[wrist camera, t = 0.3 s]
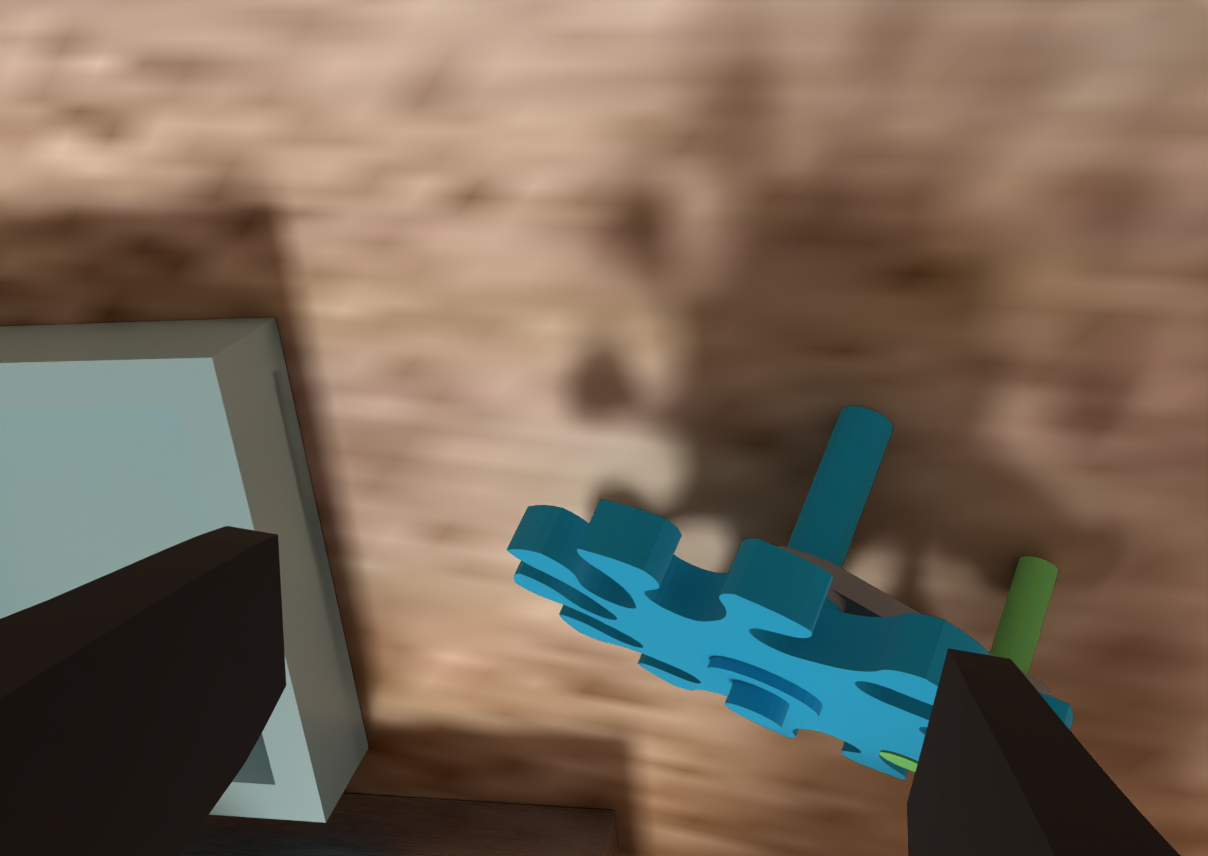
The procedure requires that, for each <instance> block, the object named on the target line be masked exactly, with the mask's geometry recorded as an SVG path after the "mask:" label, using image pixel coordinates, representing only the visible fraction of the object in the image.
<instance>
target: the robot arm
mask: <svg viewBox="0 0 1208 856" xmlns="http://www.w3.org/2000/svg"><path fill="white" fill-rule="evenodd" d="M285 687H286V671H285V653H284V634H283V616H282V597H281V579H280V560H279V542H278V534H272V533H266V532H260V531H254V530H248V529H243V528H237V527H231V526H225V527H222V528H219V529H216V530H213V531H210V532H207V533H204V534H201V535H199V536H196V537H194V538H191V539H189V540H186V541H184V542H181V543H179V544H177V545H174V546H172V547H169V548H167V549H165V550H162V551H160V552H158V553H155V554H153V555H151V556H148V557H146V558H144V559H142V560H139V561H137V562H135V563H132V564H130V565H128V566H126V567H123V568H121V569H119V570H116V571H114V572H112V573H109V574H107V575H105V576H102V577H100V578H98V579H95V580H93V581H91V582H88V583H86V584H84V585H82V586H79V587H77V588H75V589H72V590H70V591H68V592H65V593H63V594H61V595H58V596H56V597H54V598H51V599H49V600H47V601H44V602H42V603H39V604H37V605H34V606H32V607H29V608H26V609H24V610H21V611H19V612H16V613H14V614H11V615H9V616H6V617H4V618H1V619H0V856H179V855H180V854H181V852H182V851H183V849H184V848H185V847H186V845H187V844H188V843H189V841H190V840H191V838H192V837H193V836H194V834H195V833H196V832H197V830H198V829H199V827H200V826H201V825H202V823H203V822H204V820H205V819H206V818H207V816H208V815H209V813H210V812H211V811H212V809H213V808H214V806H215V805H216V804H217V802H218V801H219V799H220V798H221V797H222V795H223V794H224V792H225V791H226V790H227V788H228V787H229V785H230V784H231V783H232V781H233V780H234V778H235V777H236V775H237V774H238V773H239V771H240V770H241V768H242V767H243V765H244V764H245V762H246V760H247V759H248V757H249V755H250V753H251V751H252V750H253V748H254V746H255V744H256V742H257V741H258V739H259V737H260V735H261V733H262V732H263V730H264V728H265V726H266V724H267V722H268V720H269V718H270V716H271V714H272V712H273V711H274V709H275V707H276V705H277V703H278V701H279V699H280V697H281V695H282V693H283V691H284V689H285ZM907 816H908V854H909V856H1180V855H1179V854H1178V853H1177V852H1176V851H1175V850H1174V848H1173V847H1172V846H1171V845H1170V844H1169V843H1168V842H1167V841H1166V840H1165V839H1164V838H1163V837H1162V836H1161V835H1160V834H1159V832H1158V831H1157V830H1156V829H1155V828H1154V827H1153V826H1152V825H1151V824H1150V823H1149V822H1148V820H1147V819H1146V818H1145V817H1144V816H1143V815H1142V814H1141V813H1140V812H1139V811H1138V809H1137V808H1136V807H1135V806H1134V805H1133V804H1132V803H1131V802H1130V800H1129V799H1128V798H1127V797H1126V796H1125V795H1124V794H1123V793H1122V791H1121V790H1120V789H1119V788H1118V787H1117V786H1116V784H1115V783H1114V782H1113V781H1112V780H1111V779H1110V778H1109V776H1108V775H1107V774H1106V773H1105V772H1104V771H1103V769H1102V768H1101V767H1100V766H1099V765H1098V763H1097V762H1096V761H1095V760H1094V759H1093V758H1092V756H1091V755H1090V754H1089V753H1088V752H1087V750H1086V749H1085V748H1084V747H1083V746H1082V744H1081V743H1080V742H1079V741H1078V740H1077V738H1076V737H1075V736H1074V735H1073V734H1072V732H1071V731H1070V730H1069V729H1068V728H1067V726H1066V725H1065V724H1064V723H1063V721H1062V720H1061V719H1060V718H1059V717H1058V715H1057V714H1056V713H1055V712H1054V710H1053V709H1052V708H1051V707H1050V706H1049V704H1048V703H1047V702H1046V701H1045V699H1044V698H1043V697H1042V696H1041V694H1040V693H1039V692H1038V691H1037V690H1036V688H1035V687H1034V686H1033V685H1032V683H1031V682H1030V681H1029V680H1028V679H1027V677H1026V676H1025V675H1024V674H1023V673H1022V671H1021V670H1020V669H1019V668H1018V667H1017V666H1016V664H1015V663H1014V662H1013V661H1012V660H1011V659H1009V658H1003V657H997V656H991V655H985V654H979V653H974V652H968V651H962V650H956V649H950V648H948V650H947V654H946V658H945V661H944V665H943V669H942V673H941V677H940V680H939V684H938V688H937V692H936V696H935V699H934V703H933V707H932V711H931V715H930V718H929V722H928V726H927V730H926V734H925V737H924V741H923V745H922V749H921V753H920V756H919V760H918V764H917V768H916V772H915V776H914V779H913V783H912V787H911V791H910V795H909V798H908V802H907Z"/></svg>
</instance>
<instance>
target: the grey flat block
mask: <svg viewBox="0 0 1208 856" xmlns="http://www.w3.org/2000/svg"><path fill="white" fill-rule="evenodd" d="M179 856H619V854H618V844H617V835H616V826H615V816H614V811H613V810H598V809H582V808H566V807H551V806H535V805H519V804H504V803H488V802H473V801H457V800H441V799H426V798H410V797H395V796H379V795H363V794H348V793H343V794H342V795H341V797H340V799H339V801H338V802H337V804H336V806H335V808H334V809H333V811H332V813H331V815H330V816H329V818H328V820H327V822H326V823H323V822H309V821H295V820H281V819H266V818H252V817H238V816H224V815H210V814H209V815H208V816H207V818H206V819H205V820H204V822H203V823H202V825H201V826H200V827H199V829H198V830H197V832H196V833H195V834H194V836H193V837H192V838H191V840H190V841H189V843H188V844H187V845H186V847H185V848H184V849H183V851H182V852H181V854H180V855H179Z"/></svg>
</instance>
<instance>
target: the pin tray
mask: <svg viewBox="0 0 1208 856" xmlns="http://www.w3.org/2000/svg"><path fill="white" fill-rule="evenodd" d="M225 526H231V527H237V528H243V529H248V530H254V531H260V532H266V533H272V534H278V542H279V560H280V579H281V597H282V616H283V634H284V653H285V671H286V687H285V689H284V691H283V693H282V695H281V697H280V699H279V701H278V703H277V705H276V707H275V709H274V711H273V712H272V714H271V716H270V718H269V720H268V722H267V724H266V726H265V728H264V730H263V732H262V733H261V735H260V737H259V739H258V741H257V742H256V744H255V746H254V748H253V750H252V751H251V753H250V755H249V757H248V759H247V760H246V762H245V764H244V765H243V767H242V768H241V770H240V771H239V773H238V774H237V775H236V777H235V778H234V780H233V781H232V783H231V784H230V785H229V787H228V788H227V790H226V791H225V792H224V794H223V795H222V797H221V798H220V799H219V801H218V802H217V804H216V805H215V806H214V808H213V809H212V811H211V812H210V813H209V814H210V815H224V816H238V817H252V818H266V819H281V820H295V821H309V822H323V823H326V822H327V820H328V818H329V816H330V815H331V813H332V811H333V809H334V808H335V806H336V804H337V802H338V801H339V799H340V797H341V795H342V794H343V792H344V790H345V788H346V787H347V785H348V783H349V781H350V779H351V778H352V776H353V774H354V772H355V771H356V769H357V767H358V765H359V764H360V762H361V760H362V758H363V757H364V755H365V753H366V751H367V750H368V748H369V747H368V742H367V738H366V733H365V728H364V724H363V719H362V715H361V710H360V705H359V701H358V696H357V692H356V687H355V682H354V678H353V673H352V668H351V664H350V659H349V655H348V650H347V645H346V641H345V636H344V632H343V627H342V622H341V618H340V613H339V608H338V604H337V599H336V595H335V590H334V585H333V581H332V576H331V572H330V567H329V562H328V558H327V553H326V548H325V544H324V539H323V535H322V530H321V525H320V521H319V516H318V512H317V507H316V502H315V498H314V493H313V488H312V484H311V479H310V475H309V470H308V465H307V461H306V456H305V452H304V447H303V442H302V438H301V433H300V428H299V424H298V419H297V415H296V410H295V405H294V401H293V396H292V392H291V387H290V382H289V378H288V373H287V368H286V364H285V359H284V355H283V350H282V345H281V341H280V336H279V332H278V327H277V322H276V318H275V317H261V318H232V319H202V320H173V321H143V322H114V323H84V324H54V325H25V326H0V619H1V618H4V617H6V616H9V615H11V614H14V613H16V612H19V611H21V610H24V609H26V608H29V607H32V606H34V605H37V604H39V603H42V602H44V601H47V600H49V599H51V598H54V597H56V596H58V595H61V594H63V593H65V592H68V591H70V590H72V589H75V588H77V587H79V586H82V585H84V584H86V583H88V582H91V581H93V580H95V579H98V578H100V577H102V576H105V575H107V574H109V573H112V572H114V571H116V570H119V569H121V568H123V567H126V566H128V565H130V564H132V563H135V562H137V561H139V560H142V559H144V558H146V557H148V556H151V555H153V554H155V553H158V552H160V551H162V550H165V549H167V548H169V547H172V546H174V545H177V544H179V543H181V542H184V541H186V540H189V539H191V538H194V537H196V536H199V535H201V534H204V533H207V532H210V531H213V530H216V529H219V528H222V527H225Z"/></svg>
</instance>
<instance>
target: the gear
mask: <svg viewBox="0 0 1208 856" xmlns="http://www.w3.org/2000/svg"><path fill="white" fill-rule="evenodd" d="M892 431H893V425H892V423H891V422H890V421H889V420H888V419H887V418H886V417H885V416H883V415H882V414H880V413H878V412H876V411H873V410H871V409H868V408H864V407H859V406H848V407H844V408H843V409H842V410H841V412H840V414H839V417H838V419H837V422H836V424H835V427H834V429H833V432H832V434H831V437H830V439H829V442H828V444H827V447H826V449H825V452H824V454H823V457H822V460H821V462H820V465H819V467H818V470H817V472H816V475H815V477H814V480H813V482H812V485H811V487H810V490H809V492H808V495H807V497H806V500H805V502H804V505H803V507H802V510H801V513H800V515H799V518H798V520H797V523H796V525H795V528H794V530H793V533H792V535H791V538H790V540H789V543H788V545H787V547H784V546H774V545H772V544H769V543H767V542H765V541H762V540H760V539H752V538H749V539H745V540H743V541H742V542H741V545H740V547H739V550H738V552H737V554H736V557H735V559H734V562H733V564H732V566H731V569H730V571H729V572H728V573H715V572H711V571H707V570H704V569H701V568H698V567H696V566H693V565H691V564H689V563H687V562H685V561H683V560H681V559H680V558H678V557H677V556H675V555H674V552H675V550H676V547H677V545H678V543H679V540H680V538H681V536H682V535H681V532H680V531H679V530H678V528H677V527H676V526H675V525H673V524H672V523H671V522H670V521H668V520H667V519H665V518H663V517H660V516H658V515H655V514H653V513H650V512H647V511H644V510H641V509H638V508H634V507H631V506H627V505H624V504H620V503H616V502H611V501H607V500H603V499H601V500H600V502H599V504H598V506H597V508H596V510H595V512H594V514H593V517H592V519H591V521H590V523H587V522H586V521H585V520H583V519H582V518H580V517H579V516H577V515H575V514H574V513H572V512H570V511H568V510H566V509H564V508H560V507H556V506H548V505H535V506H529V507H528V508H527V510H526V512H525V514H524V516H523V518H522V520H521V522H520V524H519V526H518V528H517V530H516V532H515V534H514V536H513V538H512V540H511V542H510V544H509V546H508V548H507V550H508V551H509V552H510V553H511V554H512V555H514V556H515V557H517V558H518V559H520V560H521V562H520V564H519V566H518V568H517V570H516V573H515V575H514V580H515V582H516V583H517V584H518V585H520V586H522V587H524V588H525V589H527V590H529V591H531V592H533V593H536V594H538V595H540V596H542V597H545V598H547V599H550V600H553V601H556V602H558V603H561V604H563V607H562V609H561V611H560V614H559V615H560V617H561V618H562V619H563V620H564V621H565V622H567V623H568V624H569V625H570V626H572V627H573V628H574V629H576V630H577V631H578V632H580V633H582V634H585V635H587V636H589V637H592V638H594V639H597V640H600V641H603V642H607V643H611V644H615V645H619V646H622V647H625V648H628V649H631V650H634V651H637V652H640V653H642V655H641V657H640V659H639V662H638V664H639V665H640V666H642V667H643V668H645V669H646V670H648V671H649V672H651V673H653V674H654V675H656V676H658V677H660V678H661V679H663V680H665V681H667V682H669V683H670V684H672V685H675V686H677V687H680V688H683V689H687V690H706V691H711V692H715V693H719V694H722V695H725V696H728V697H727V699H726V702H725V705H726V706H727V707H728V708H729V709H731V710H732V711H734V712H736V713H738V714H739V715H741V716H743V717H745V718H747V719H749V720H751V721H753V722H755V723H757V724H759V725H762V726H764V727H766V728H768V729H770V730H772V731H775V732H777V733H779V734H781V735H783V736H787V737H791V738H795V737H796V735H797V732H798V729H809V730H815V731H820V732H823V733H826V734H829V735H832V736H834V737H836V738H839V739H841V740H843V741H845V742H844V745H843V748H842V751H841V753H842V754H843V755H844V756H846V757H847V758H849V759H851V760H853V761H855V762H858V763H860V764H862V765H865V766H867V767H870V768H872V769H875V770H878V771H880V772H883V773H886V774H888V775H891V776H894V777H896V778H899V779H905V778H906V775H907V772H908V770H910V771H913V772H916V768H917V764H918V760H919V756H920V753H921V749H922V745H923V741H924V737H925V734H926V730H927V726H928V722H929V718H930V715H931V711H932V707H933V703H934V699H935V696H936V692H937V688H938V684H939V680H940V677H941V673H942V669H943V665H944V661H945V658H946V654H947V650H948V648H950V649H956V650H962V651H968V652H974V653H979V654H985V655H991V656H997V657H1003V658H1009V659H1011V660H1012V661H1013V662H1014V663H1015V664H1016V666H1017V667H1018V668H1019V669H1020V670H1021V671H1022V673H1023V674H1024V675H1025V676H1026V677H1027V679H1028V680H1029V681H1030V682H1031V683H1032V685H1033V686H1034V687H1035V688H1036V690H1037V691H1038V692H1039V693H1040V694H1041V696H1042V697H1043V698H1044V699H1045V701H1046V702H1047V703H1048V704H1049V706H1050V707H1051V708H1052V709H1053V710H1054V712H1055V713H1056V714H1057V715H1058V717H1059V718H1060V719H1061V720H1062V721H1063V723H1064V724H1065V725H1066V726H1067V728H1068V729H1069V730H1070V729H1071V725H1072V722H1073V718H1074V716H1073V711H1072V709H1071V707H1070V705H1069V704H1068V703H1065V702H1063V701H1061V700H1059V699H1056V698H1054V697H1051V696H1050V691H1049V689H1048V688H1047V687H1046V686H1045V685H1044V684H1042V683H1041V682H1039V681H1038V680H1036V679H1034V678H1033V677H1031V676H1029V675H1028V672H1029V669H1030V666H1031V662H1032V659H1033V656H1034V652H1035V649H1036V645H1037V642H1038V639H1039V635H1040V632H1041V629H1042V625H1043V622H1044V618H1045V615H1046V612H1047V608H1048V605H1049V602H1050V598H1051V595H1052V591H1053V588H1054V585H1055V581H1056V578H1057V575H1058V571H1059V570H1058V568H1057V567H1056V566H1055V565H1054V564H1052V563H1050V562H1048V561H1046V560H1044V559H1041V558H1037V557H1031V556H1024V557H1021V558H1020V559H1019V561H1018V565H1017V568H1016V571H1015V574H1014V577H1013V581H1012V584H1011V587H1010V590H1009V594H1008V597H1007V600H1006V603H1005V606H1004V610H1003V613H1002V616H1001V619H1000V622H999V626H998V629H997V632H996V635H995V638H994V642H993V645H992V648H991V651H990V653H989V652H987V651H986V649H985V648H983V647H982V646H981V645H980V644H979V643H978V642H977V641H975V640H974V639H972V638H971V637H970V636H968V635H967V634H966V633H964V632H963V631H961V630H960V629H958V628H957V627H955V626H953V625H952V624H950V623H949V622H947V621H946V620H943V619H940V618H937V617H933V616H929V615H924V614H921V613H919V612H917V611H915V610H914V609H912V608H910V607H908V606H907V605H905V604H903V603H901V602H900V601H898V600H896V599H894V598H893V597H891V596H889V595H887V594H886V593H884V592H882V591H880V590H879V589H877V588H875V587H873V586H872V585H870V584H868V583H866V582H865V581H863V580H861V579H859V578H858V577H856V576H854V575H852V574H851V573H849V572H847V571H845V570H844V569H842V568H841V567H842V565H843V562H844V559H845V557H846V554H847V551H848V548H849V546H850V543H851V540H852V538H853V535H854V532H855V530H856V527H857V524H858V522H859V519H860V516H861V514H862V511H863V508H864V506H865V503H866V500H867V498H868V495H869V492H870V490H871V487H872V484H873V482H874V479H875V476H876V474H877V471H878V468H879V466H880V463H881V460H882V458H883V455H884V452H885V450H886V447H887V444H888V441H889V439H890V436H891V433H892Z"/></svg>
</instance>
